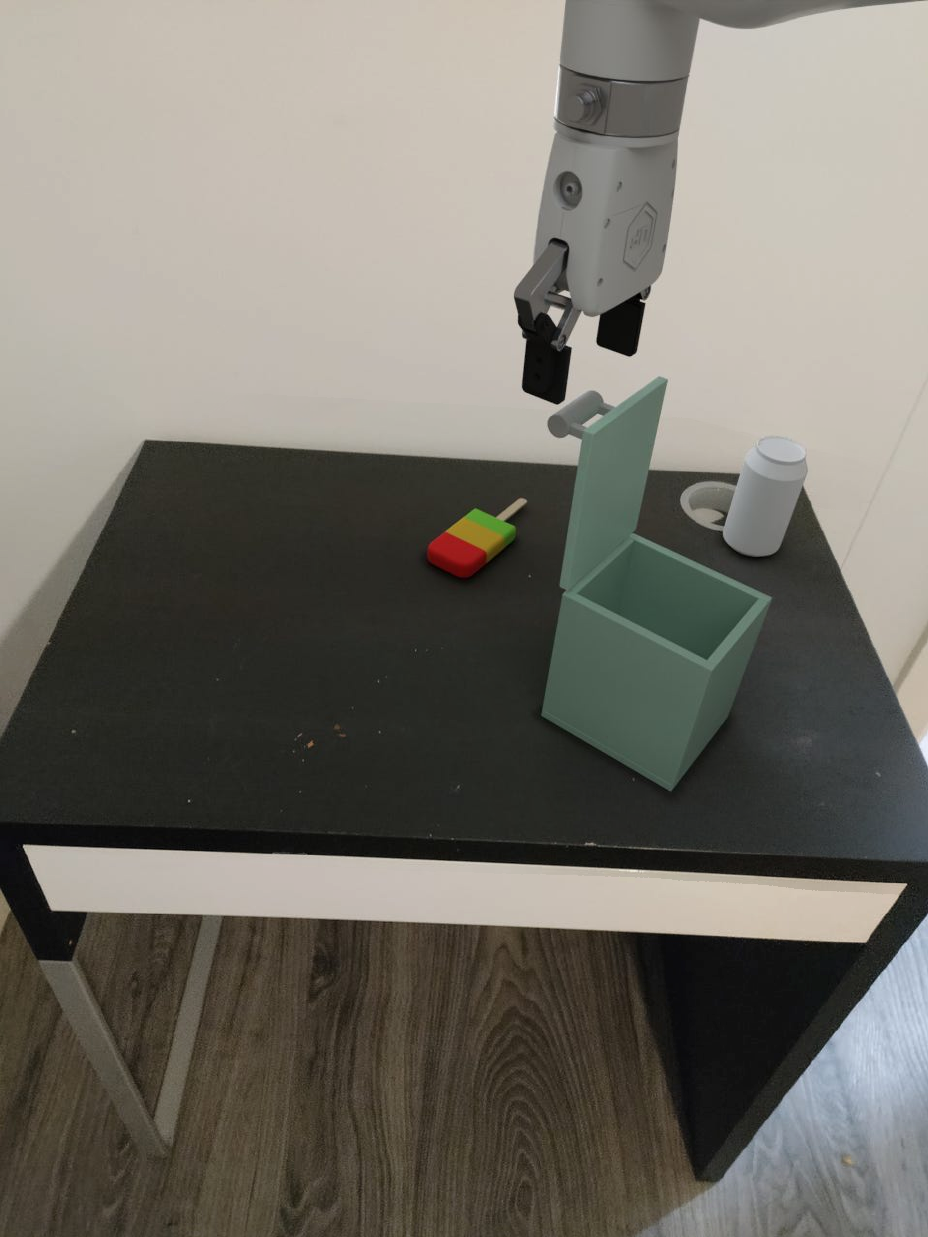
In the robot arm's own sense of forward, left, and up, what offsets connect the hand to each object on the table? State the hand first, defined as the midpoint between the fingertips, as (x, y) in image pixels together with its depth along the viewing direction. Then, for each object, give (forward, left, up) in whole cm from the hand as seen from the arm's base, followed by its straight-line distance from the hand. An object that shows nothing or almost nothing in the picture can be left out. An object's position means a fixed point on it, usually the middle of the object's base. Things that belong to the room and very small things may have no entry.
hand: (580, 372), depth 66 cm
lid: (-4, +1, -8) cm, 9 cm away
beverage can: (-15, -27, -29) cm, 42 cm away
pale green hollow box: (-10, +3, -29) cm, 30 cm away
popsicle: (+11, -15, -29) cm, 34 cm away
